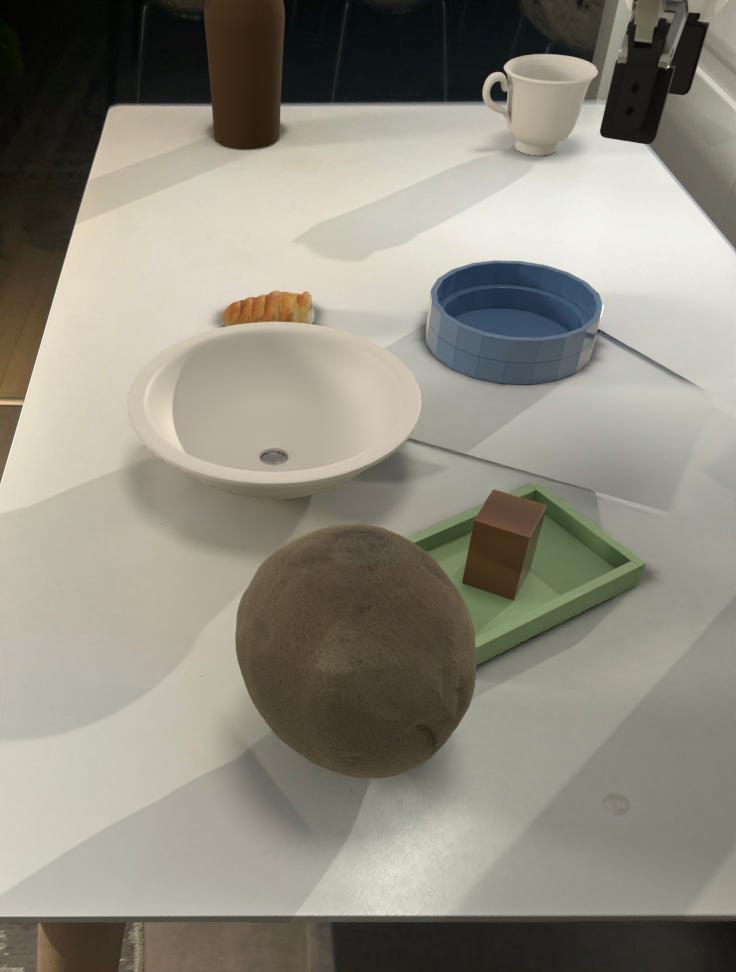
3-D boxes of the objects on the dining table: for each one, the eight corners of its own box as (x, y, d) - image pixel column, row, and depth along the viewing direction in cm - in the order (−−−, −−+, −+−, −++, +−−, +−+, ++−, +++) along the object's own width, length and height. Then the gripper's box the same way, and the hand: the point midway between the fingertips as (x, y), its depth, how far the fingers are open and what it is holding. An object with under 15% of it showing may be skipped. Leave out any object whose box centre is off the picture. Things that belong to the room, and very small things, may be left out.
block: (479, 551, 73) (493, 488, 69) (530, 568, 72) (547, 505, 67) (461, 583, 70) (473, 520, 66) (513, 600, 69) (529, 537, 65)
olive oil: (250, 157, 131) (246, -66, 113) (194, 140, 136) (182, -76, 118) (299, 136, 136) (302, -80, 118) (244, 120, 141) (239, -90, 123)
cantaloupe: (448, 657, 66) (482, 482, 55) (466, 833, 56) (512, 662, 46) (246, 650, 67) (240, 476, 56) (229, 821, 57) (219, 651, 46)
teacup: (460, 138, 135) (470, 58, 128) (559, 130, 137) (575, 50, 130) (489, 170, 127) (502, 86, 120) (595, 160, 129) (614, 77, 121)
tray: (531, 502, 78) (536, 481, 76) (639, 583, 71) (646, 562, 70) (356, 579, 72) (357, 558, 70) (454, 677, 65) (459, 656, 63)
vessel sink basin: (105, 538, 76) (93, 470, 71) (165, 378, 92) (159, 314, 87) (409, 563, 73) (419, 494, 68) (416, 393, 89) (424, 328, 85)
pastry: (220, 345, 96) (218, 309, 93) (225, 313, 101) (224, 278, 98) (313, 347, 96) (314, 311, 93) (314, 314, 100) (315, 279, 98)
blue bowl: (513, 292, 103) (522, 247, 99) (625, 358, 93) (639, 310, 90) (392, 333, 97) (397, 286, 94) (499, 407, 88) (508, 358, 84)
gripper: (801, -249, 40) (677, 172, 53) (845, -274, 51) (733, 83, 63) (623, -252, 43) (545, 150, 55) (700, -276, 53) (620, 67, 66)
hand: (645, 114), depth 59 cm, fingers open, 9 cm apart
